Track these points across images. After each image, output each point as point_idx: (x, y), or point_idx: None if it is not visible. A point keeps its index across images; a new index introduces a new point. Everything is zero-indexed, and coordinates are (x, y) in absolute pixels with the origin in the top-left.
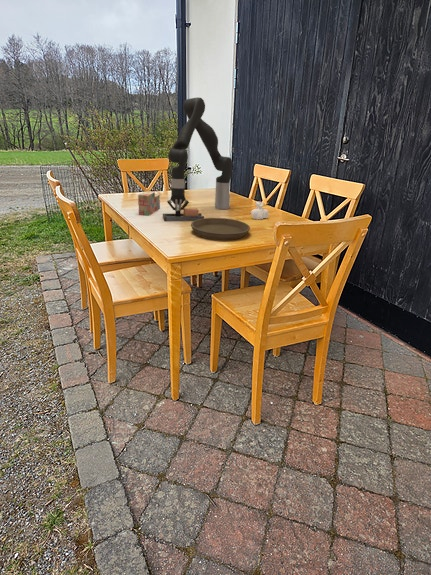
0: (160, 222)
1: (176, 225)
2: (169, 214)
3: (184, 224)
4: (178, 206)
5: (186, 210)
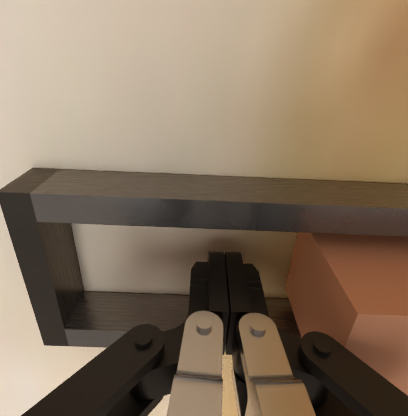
0: (31, 336)
1: (165, 406)
2: (110, 219)
3: (234, 393)
4: (248, 387)
5: None
